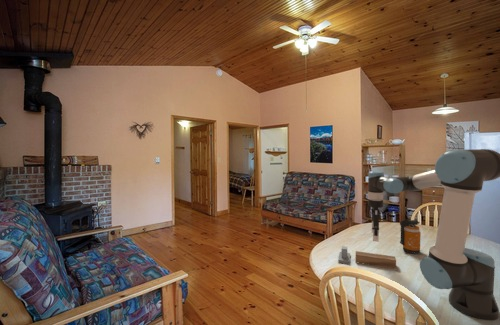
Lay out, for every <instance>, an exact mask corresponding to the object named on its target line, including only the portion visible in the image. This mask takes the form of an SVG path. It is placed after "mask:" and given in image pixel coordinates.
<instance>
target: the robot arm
mask: <svg viewBox="0 0 500 325" xmlns="http://www.w3.org/2000/svg"><path fill="white" fill-rule="evenodd" d="M499 178H500V152H499V151H496V150H492V149H489V148H487V149H486V148H481V149H454V150H449V151H446V152H444V153H442V154H441V155H440V156H438V158H437V159H436V162H435V164H434V169H432V170H428V171H425V172H420V173H417V174H413V175H410V176H394V177H389V176H385V173H384V172H383V171H377V170H375V171H370V172H368V177H367V182H368V183H367V187H368V188H367V198H368V199H367V205H368V207H370V208H371V233H372V242H375V243H376V242H380V241H379V240H380V238H379V235H380V234H379V233H380V209H381V208H383V207H384V196H385V195H386V194H385V193H384V192H386V193H389V194H400V193H401V192H418V191H422V190H423V189H429V188H433V187H440V186H441V187H442V188H443V189H444V191H443V196H442V203H441V208H440V213H439V214H440V215H439V220H438V225H437V226H438V227H437V232H436V237H435V238H436V239H435V242H434V244H435V245H433V246H431V247H430V248H429V251H428V256H424V257H423V258H421V259H420V261H419V270H420V272H421V275H423V276H422V277H423V278H424V279H425V281H427V282H428V284H430V285H431V286H432V287H433V288H436V289H439V290H450V292H449V294H448V302H449V305H451V307H453V308H454V309H456V310H457V311H459V312H460V313H463V314H465V315H467V316H470V317H473V318H476V319H480V320H485V321H486V320H487V321H492V320H493V321H495V320H497V319H499V317H500V308H499V306H498V303H497V301H496V297H495V296H494V295H495V294H494V287H495V269H496V265H495V259H494V257H492V256H491V255H489V254H487V253H484V252H482V251H479V250H477V249H472V248H468V247H465V246H466V243H467V242H466V241H467V237H468V232H469V226H470V221H471V216H472V211H473V205H474V201H475V195H476V194H477V193H480V192H482V190H483V186H484V182H490V181H494V180H497V179H499ZM379 208H380V209H379Z"/></svg>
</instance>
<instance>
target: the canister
mask: <svg viewBox="0 0 500 325" xmlns="http://www.w3.org/2000/svg"><path fill="white" fill-rule="evenodd" d="M399 224H400V241H399V244H400V245H402V250H403V251H404V252H406V253H409V254H420V253H421V233H422V232H421V231H420V227H419V226H418V224H420V221H418V220H417V219H404V220H401V221H400V222H399Z"/></svg>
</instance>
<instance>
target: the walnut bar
mask: <svg viewBox="0 0 500 325" xmlns="http://www.w3.org/2000/svg"><path fill="white" fill-rule="evenodd" d="M356 262H359V263H358V264H362V263H364V264H363V265H368V264H369V265H370V266H376V267H382V268H387V269H395V270H397V259H396V256H394V255H386V254H379V253H373V252H365V251H358V250H355V263H356Z"/></svg>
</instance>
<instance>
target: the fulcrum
mask: <svg viewBox="0 0 500 325" xmlns="http://www.w3.org/2000/svg"><path fill="white" fill-rule="evenodd" d="M339 262H341V264H345V263H346V265H350V263H351V252H348V246H343V245H342V246H341V251H339V253H338V260H337V263H339Z"/></svg>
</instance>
